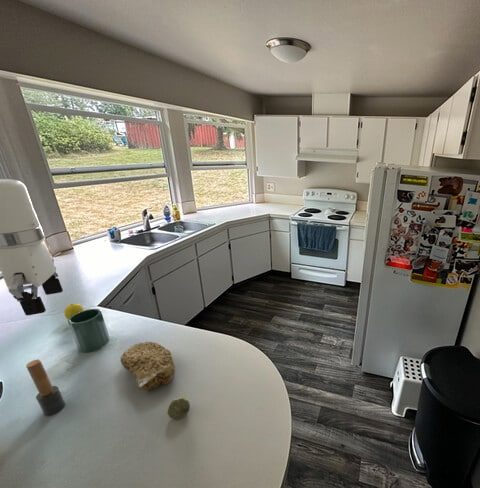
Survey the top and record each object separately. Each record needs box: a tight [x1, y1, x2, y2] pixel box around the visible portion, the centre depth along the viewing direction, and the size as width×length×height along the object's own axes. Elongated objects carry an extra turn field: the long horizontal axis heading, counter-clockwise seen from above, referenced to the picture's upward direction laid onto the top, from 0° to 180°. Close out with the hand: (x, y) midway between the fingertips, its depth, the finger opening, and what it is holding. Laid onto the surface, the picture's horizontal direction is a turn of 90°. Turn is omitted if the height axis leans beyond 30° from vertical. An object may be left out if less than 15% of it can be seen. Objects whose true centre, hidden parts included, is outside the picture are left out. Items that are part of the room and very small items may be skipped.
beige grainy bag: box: [120, 341, 176, 392], centre depth 79 cm, size 13×8×20 cm
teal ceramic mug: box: [67, 308, 111, 353], centre depth 88 cm, size 8×8×12 cm
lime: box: [167, 396, 191, 421], centre depth 66 cm, size 4×5×5 cm
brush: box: [25, 358, 66, 417], centre depth 65 cm, size 4×4×16 cm
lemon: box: [63, 303, 85, 320], centre depth 100 cm, size 6×6×8 cm
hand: (46, 302), depth 61 cm, fingers open, 9 cm apart
